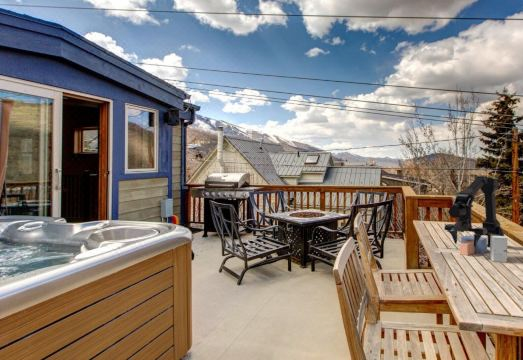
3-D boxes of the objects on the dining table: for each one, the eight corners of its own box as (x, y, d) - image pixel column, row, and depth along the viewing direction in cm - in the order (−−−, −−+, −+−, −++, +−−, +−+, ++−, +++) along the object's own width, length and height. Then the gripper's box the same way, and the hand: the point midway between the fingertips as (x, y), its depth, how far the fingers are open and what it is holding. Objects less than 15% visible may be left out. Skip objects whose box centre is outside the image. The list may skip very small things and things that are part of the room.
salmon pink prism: (470, 250, 180) (470, 239, 180) (477, 251, 177) (477, 240, 177) (460, 254, 172) (460, 243, 172) (467, 255, 170) (467, 244, 169)
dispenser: (466, 248, 184) (466, 235, 184) (486, 251, 176) (486, 238, 176) (460, 250, 180) (460, 237, 180) (481, 254, 172) (481, 240, 172)
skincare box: (493, 261, 159) (493, 237, 158) (489, 259, 163) (489, 235, 163) (507, 262, 157) (507, 237, 156) (504, 259, 161) (504, 235, 161)
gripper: (439, 215, 174) (439, 244, 175) (478, 219, 159) (478, 251, 160) (449, 213, 181) (449, 241, 181) (487, 217, 165) (487, 247, 166)
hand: (465, 245), depth 172 cm, fingers open, 9 cm apart
